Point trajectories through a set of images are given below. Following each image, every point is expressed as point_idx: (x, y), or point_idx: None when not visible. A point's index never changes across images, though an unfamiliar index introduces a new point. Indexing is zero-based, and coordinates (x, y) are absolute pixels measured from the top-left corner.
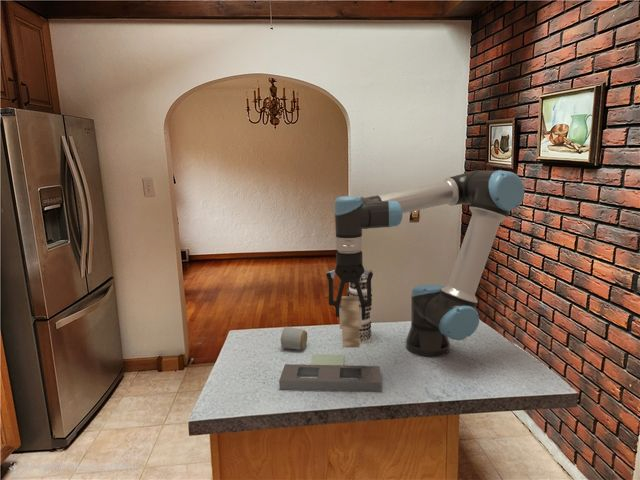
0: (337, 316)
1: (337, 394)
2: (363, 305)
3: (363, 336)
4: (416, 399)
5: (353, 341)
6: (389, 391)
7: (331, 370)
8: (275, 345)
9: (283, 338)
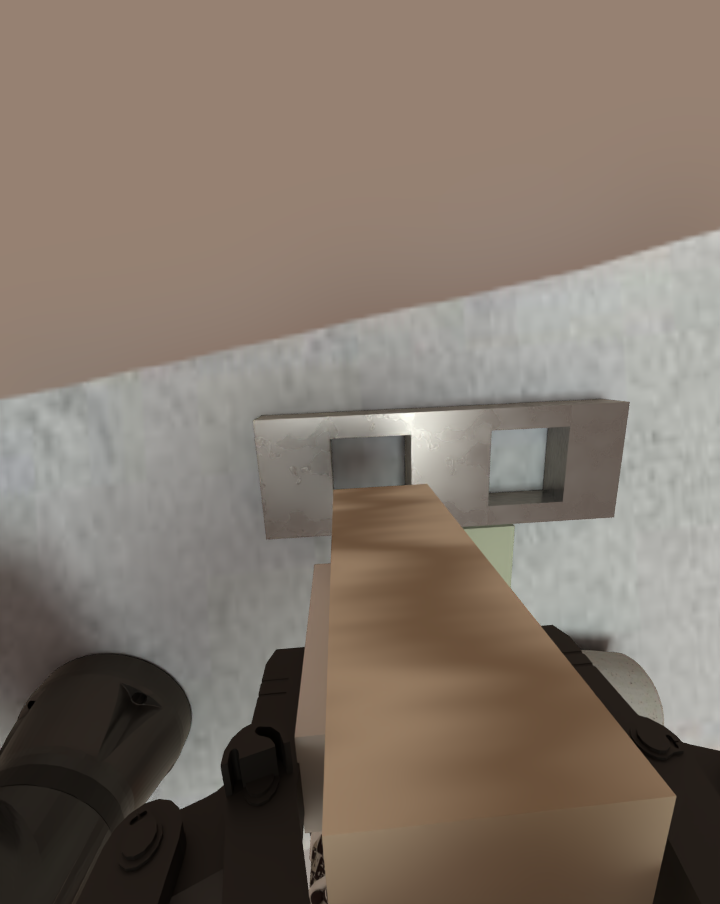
0: (546, 632)
1: (409, 388)
2: (256, 783)
3: None
4: (139, 381)
5: (369, 501)
6: (234, 423)
7: (443, 490)
8: None
9: (641, 676)
